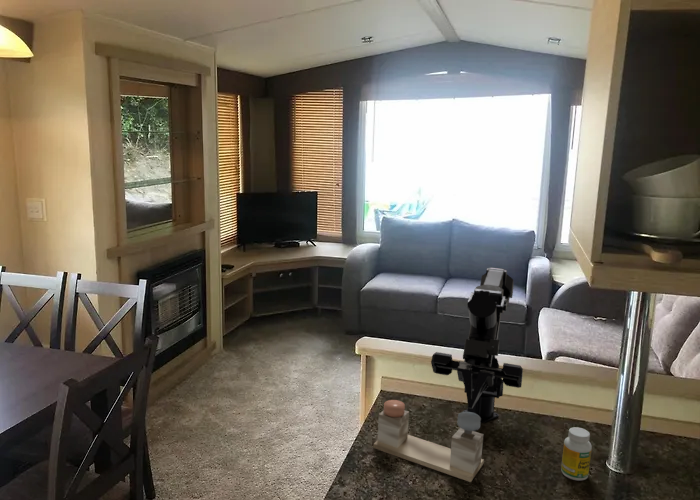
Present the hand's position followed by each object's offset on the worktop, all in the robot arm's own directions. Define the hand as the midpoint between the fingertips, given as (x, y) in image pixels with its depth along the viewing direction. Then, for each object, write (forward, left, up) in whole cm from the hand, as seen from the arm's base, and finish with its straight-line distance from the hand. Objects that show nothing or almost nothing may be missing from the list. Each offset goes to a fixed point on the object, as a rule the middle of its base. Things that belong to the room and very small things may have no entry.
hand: (470, 407), depth 116 cm
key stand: (+3, -8, -14) cm, 16 cm away
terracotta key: (+6, -16, -8) cm, 19 cm away
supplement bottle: (-17, +15, -14) cm, 27 cm away
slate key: (0, 0, -6) cm, 6 cm away
